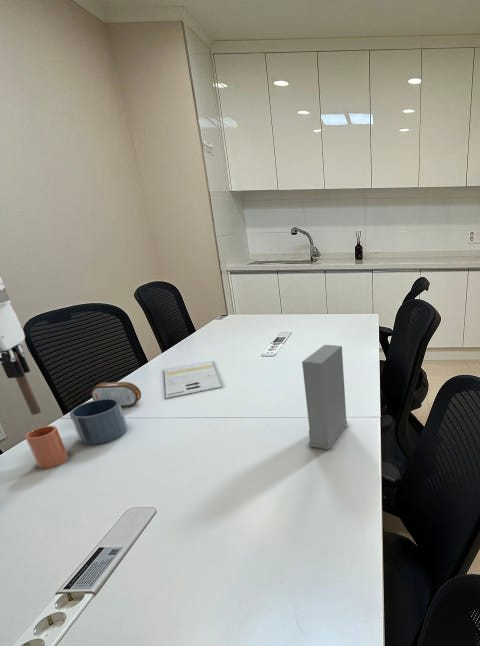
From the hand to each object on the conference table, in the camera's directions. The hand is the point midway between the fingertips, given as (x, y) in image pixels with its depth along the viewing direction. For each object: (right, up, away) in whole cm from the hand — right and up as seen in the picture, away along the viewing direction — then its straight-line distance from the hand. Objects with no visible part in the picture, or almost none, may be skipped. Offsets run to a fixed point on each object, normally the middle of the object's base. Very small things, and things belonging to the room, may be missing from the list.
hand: (19, 374), depth 93 cm
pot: (+6, -17, +22) cm, 28 cm away
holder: (0, -23, +10) cm, 25 cm away
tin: (-1, -10, +39) cm, 40 cm away
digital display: (+14, 0, +59) cm, 61 cm away
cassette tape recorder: (+73, -17, +18) cm, 77 cm away
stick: (0, -10, +4) cm, 11 cm away
